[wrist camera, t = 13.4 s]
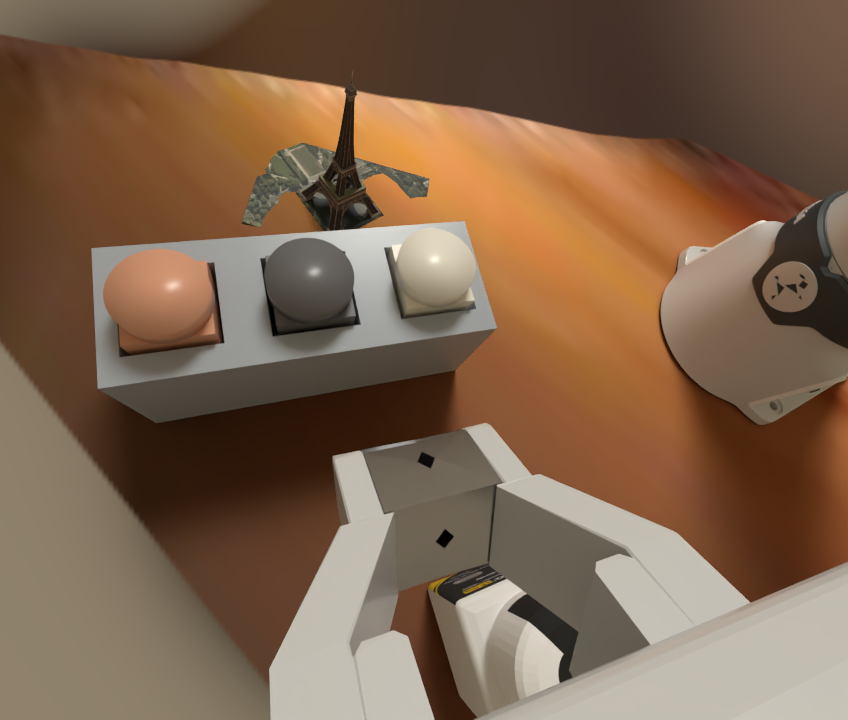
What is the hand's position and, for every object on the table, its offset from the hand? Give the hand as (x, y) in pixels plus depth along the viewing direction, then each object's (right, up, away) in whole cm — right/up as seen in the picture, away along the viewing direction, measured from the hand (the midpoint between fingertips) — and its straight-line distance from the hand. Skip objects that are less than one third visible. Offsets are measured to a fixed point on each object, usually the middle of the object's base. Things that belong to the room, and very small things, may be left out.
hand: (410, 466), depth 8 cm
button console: (-9, +3, +26) cm, 28 cm away
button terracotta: (-15, +3, +21) cm, 26 cm away
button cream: (-1, +5, +25) cm, 26 cm away
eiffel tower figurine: (-7, +16, +32) cm, 36 cm away
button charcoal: (-8, +4, +23) cm, 25 cm away
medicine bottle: (+5, -16, +23) cm, 28 cm away
